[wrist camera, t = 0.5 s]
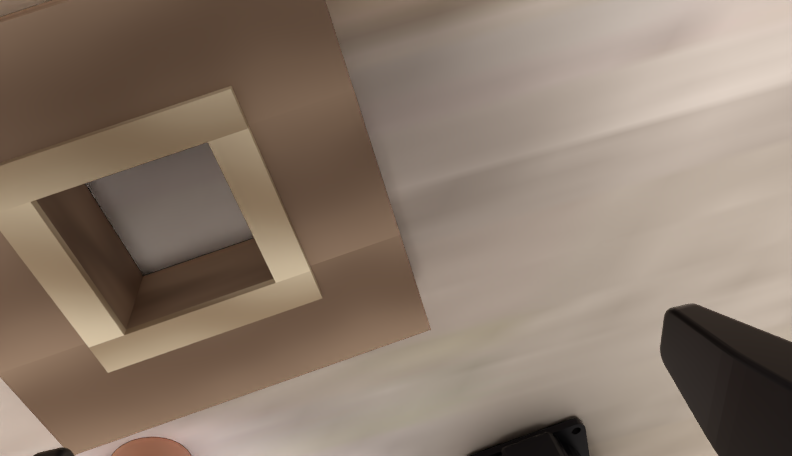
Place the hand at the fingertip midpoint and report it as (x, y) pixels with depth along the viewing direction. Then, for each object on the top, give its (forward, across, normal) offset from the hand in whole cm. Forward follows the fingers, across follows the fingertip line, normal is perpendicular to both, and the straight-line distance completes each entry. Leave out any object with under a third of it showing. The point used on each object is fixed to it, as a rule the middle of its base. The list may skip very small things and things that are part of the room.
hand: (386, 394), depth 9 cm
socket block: (+14, +6, +2) cm, 15 cm away
